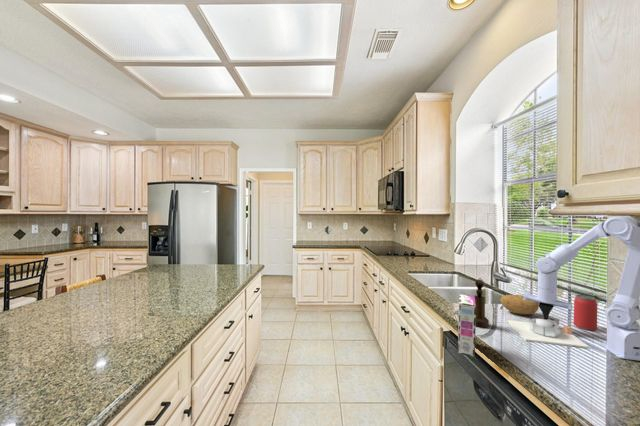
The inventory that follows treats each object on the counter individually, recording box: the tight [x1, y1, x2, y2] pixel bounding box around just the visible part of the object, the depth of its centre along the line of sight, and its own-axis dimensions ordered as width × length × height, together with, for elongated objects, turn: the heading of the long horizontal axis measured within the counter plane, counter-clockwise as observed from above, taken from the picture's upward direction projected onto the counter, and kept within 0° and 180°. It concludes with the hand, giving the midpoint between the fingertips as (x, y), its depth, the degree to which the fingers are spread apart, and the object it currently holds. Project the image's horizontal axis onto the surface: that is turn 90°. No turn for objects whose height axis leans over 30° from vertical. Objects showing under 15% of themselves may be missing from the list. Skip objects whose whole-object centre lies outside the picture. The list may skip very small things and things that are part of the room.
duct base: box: [507, 318, 590, 349], centre depth 101 cm, size 17×18×5 cm
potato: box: [499, 294, 540, 316], centre depth 121 cm, size 10×14×8 cm
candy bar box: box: [457, 293, 477, 358], centre depth 91 cm, size 11×5×16 cm, turn 152°
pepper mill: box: [474, 279, 490, 328], centre depth 109 cm, size 7×6×18 cm
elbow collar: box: [528, 317, 561, 337], centre depth 102 cm, size 13×8×3 cm, turn 118°
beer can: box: [573, 294, 598, 332], centre depth 107 cm, size 7×7×12 cm
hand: (546, 322), depth 106 cm, fingers closed, pressing on elbow collar
